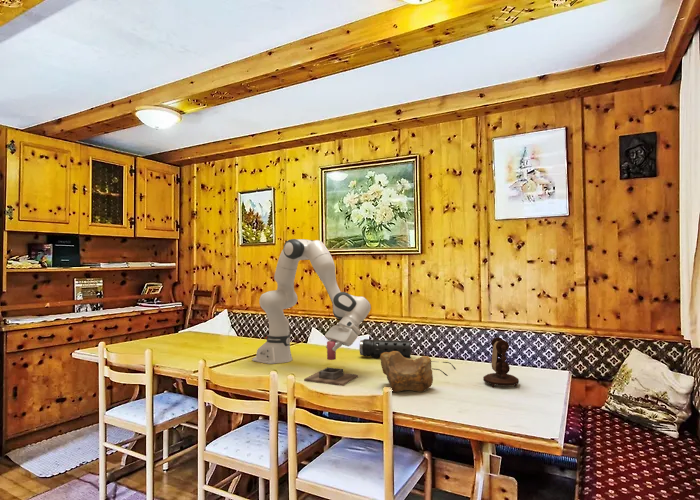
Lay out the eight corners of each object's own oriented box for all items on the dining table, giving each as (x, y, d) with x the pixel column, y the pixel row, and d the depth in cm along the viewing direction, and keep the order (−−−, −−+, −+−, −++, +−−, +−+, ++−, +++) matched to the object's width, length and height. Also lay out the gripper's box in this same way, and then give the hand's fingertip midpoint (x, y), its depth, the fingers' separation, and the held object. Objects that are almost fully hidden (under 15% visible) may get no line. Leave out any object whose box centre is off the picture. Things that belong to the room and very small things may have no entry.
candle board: (304, 380, 203) (304, 372, 203) (321, 372, 217) (320, 364, 217) (343, 385, 194) (343, 376, 194) (358, 376, 208) (357, 368, 209)
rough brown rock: (370, 393, 185) (370, 358, 184) (383, 380, 200) (383, 347, 199) (425, 402, 176) (424, 365, 175) (434, 387, 191) (434, 353, 190)
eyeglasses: (422, 365, 231) (422, 355, 231) (457, 369, 221) (457, 359, 221) (410, 372, 217) (410, 362, 217) (446, 377, 208) (446, 366, 208)
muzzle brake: (409, 361, 240) (409, 342, 240) (359, 359, 245) (359, 340, 246) (410, 357, 249) (410, 338, 249) (362, 355, 255) (362, 337, 255)
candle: (325, 359, 205) (325, 340, 205) (329, 357, 208) (329, 339, 209) (333, 360, 203) (333, 341, 203) (337, 358, 207) (336, 339, 207)
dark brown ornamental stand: (479, 379, 201) (478, 335, 201) (512, 379, 201) (511, 335, 201) (488, 389, 186) (487, 341, 187) (524, 389, 186) (523, 341, 186)
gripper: (332, 319, 219) (315, 341, 213) (355, 324, 201) (336, 348, 196) (340, 327, 221) (323, 349, 215) (363, 333, 203) (345, 357, 198)
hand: (330, 349), depth 205 cm, fingers closed on candle, 4 cm apart
